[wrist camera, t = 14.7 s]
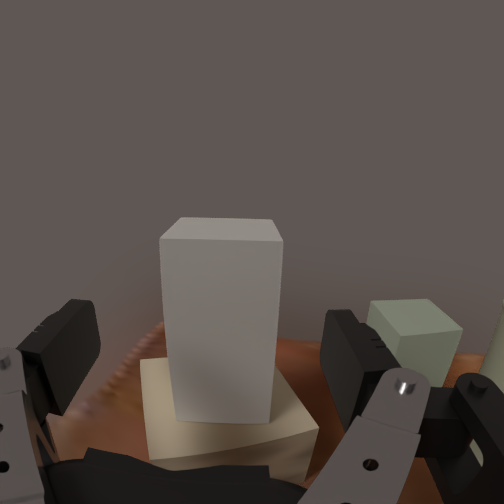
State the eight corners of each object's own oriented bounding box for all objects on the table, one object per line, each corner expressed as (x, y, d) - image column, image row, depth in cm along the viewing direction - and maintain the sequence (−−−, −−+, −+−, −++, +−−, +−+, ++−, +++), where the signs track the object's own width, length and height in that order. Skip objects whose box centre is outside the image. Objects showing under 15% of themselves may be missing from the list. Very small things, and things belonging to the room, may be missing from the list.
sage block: (397, 399, 25) (427, 298, 22) (418, 436, 20) (463, 329, 17) (346, 405, 25) (371, 300, 22) (362, 447, 20) (400, 336, 17)
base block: (258, 403, 25) (262, 346, 24) (303, 483, 17) (319, 427, 15) (151, 418, 22) (140, 359, 21) (167, 511, 14) (149, 459, 13)
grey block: (263, 371, 21) (271, 219, 18) (268, 423, 16) (283, 241, 13) (187, 369, 20) (180, 217, 18) (176, 420, 16) (159, 238, 13)
